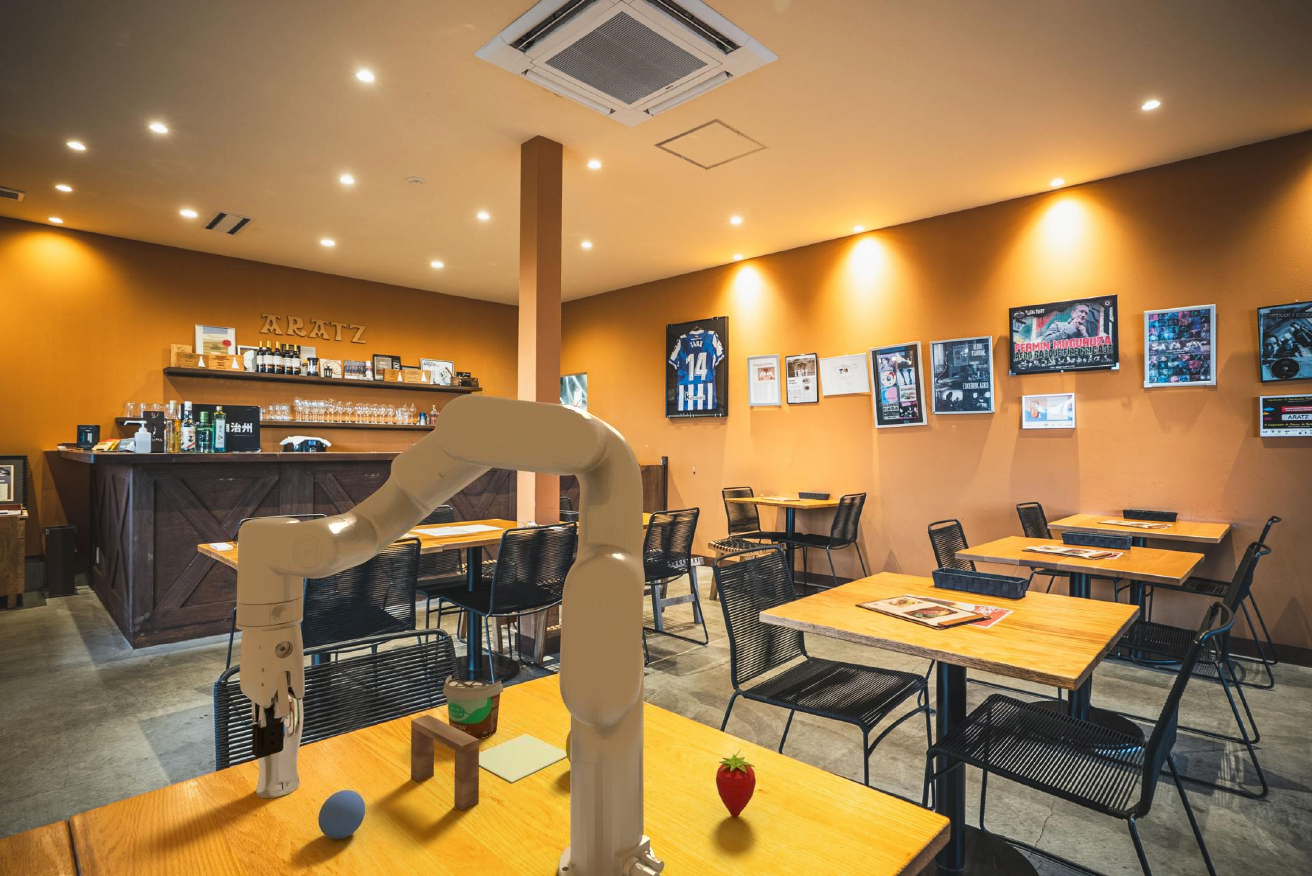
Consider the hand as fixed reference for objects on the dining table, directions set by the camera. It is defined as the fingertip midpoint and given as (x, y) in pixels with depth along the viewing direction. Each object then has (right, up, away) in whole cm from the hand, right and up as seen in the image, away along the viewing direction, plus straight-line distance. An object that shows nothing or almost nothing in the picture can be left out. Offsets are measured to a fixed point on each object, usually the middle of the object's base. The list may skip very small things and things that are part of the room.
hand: (267, 752), depth 85 cm
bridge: (+17, -15, +19) cm, 30 cm away
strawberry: (+63, -15, +11) cm, 66 cm away
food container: (+15, -16, +39) cm, 45 cm away
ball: (+6, -12, +7) cm, 15 cm away
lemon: (+38, -16, +26) cm, 49 cm away
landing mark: (+27, -16, +30) cm, 43 cm away
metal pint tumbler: (-10, -16, +20) cm, 27 cm away
